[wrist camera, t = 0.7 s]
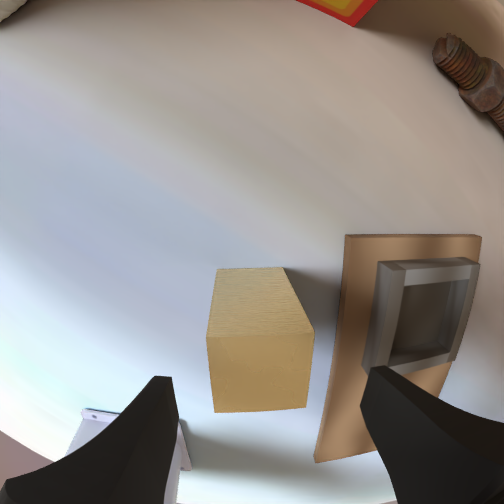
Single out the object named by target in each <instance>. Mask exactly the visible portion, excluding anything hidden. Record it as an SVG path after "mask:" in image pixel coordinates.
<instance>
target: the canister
mask: <svg viewBox="0 0 504 504" xmlns="http://www.w3.org/2000/svg"><path fill="white" fill-rule="evenodd" d="M26 1H27V0H0V22H1V21H2V20H3V19H4V18H7V17H9V16H10V15H11V13H13V12H15V11H17V9H18V8H19V7H20V6H22V5H24V4H25V3H26Z"/></svg>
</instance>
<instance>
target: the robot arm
mask: <svg viewBox="0 0 504 504" xmlns="http://www.w3.org/2000/svg"><path fill="white" fill-rule="evenodd" d="M360 409H361V412H362V416H363V419H364V422H365V425H366V428H367V430H368V432H369V434H370V436H371V438H372V440H373V442H374V444H375V446H376V448H377V450H378V452H379V454H380V456H381V458H382V461H383V463H384V465H385V467H386V469H387V471H388V474H389V476H390V479H391V482H392V485H393V488H394V492H395V495H396V499H397V502H398V504H504V423H502V422H497V421H493V420H489V419H486V418H482V417H479V416H476V415H473V414H471V413H468V412H466V411H463V410H461V409H459V408H456V407H454V406H452V405H450V404H448V403H446V402H444V401H442V400H441V399H439V398H437V397H435V396H433V395H432V394H430V393H428V392H427V391H425V390H423V389H422V388H420V387H419V386H417V385H415V384H414V383H412V382H411V381H409V380H408V379H406V378H405V377H403V376H402V375H400V374H398V373H397V372H395V371H394V370H392V369H391V368H389V367H387V366H385V365H382V366H376V367H371V368H370V372H369V376H368V379H367V383H366V386H365V390H364V393H363V396H362V400H361V403H360ZM81 415H82V417H83V420H82V422H81V424H80V426H79V428H78V430H77V432H76V434H75V436H74V438H73V440H72V442H71V444H70V446H69V448H68V450H67V452H66V455H65V457H64V458H62V459H60V460H58V461H56V462H54V463H52V464H50V465H48V466H46V467H43V468H41V469H38V470H36V471H34V472H31V473H27V474H24V475H21V476H18V477H14V478H10V479H7V480H6V481H5V483H4V485H3V487H2V489H1V491H0V504H176V500H177V491H178V483H179V475H180V470H181V471H190V470H192V465H191V461H190V458H189V454H188V451H187V447H186V444H185V440H184V437H183V433H182V429H181V425H180V423H179V422H178V421H179V414H178V409H177V404H176V399H175V394H174V388H173V383H172V377H166V376H154V377H153V378H152V379H151V380H150V381H149V382H148V384H147V385H146V386H145V387H144V388H143V390H142V391H141V392H140V393H139V394H138V395H137V396H136V398H135V399H134V400H133V401H132V402H131V403H130V404H129V405H128V406H127V407H126V408H125V409H124V410H123V412H122V413H121V414H120V415H119V414H112V413H105V412H99V411H94V410H88V409H82V411H81Z"/></svg>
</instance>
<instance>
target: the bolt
mask: <svg viewBox="0 0 504 504" xmlns="http://www.w3.org/2000/svg"><path fill="white" fill-rule="evenodd" d="M432 54H433V61H434V62H435V63H436V64H437V66H439V67H440V68H441V69H443V71H445V72H446V73H447V74H449V75H450V77H452V78H453V79H454V80H455V81H456V82H457V83H459V86H458V91H459V95H460V96H461V97H462V98H463V99H464V100H465V101H466V102H467V103H468V104H469V105H470V106H471V107H473V108H474V109H476V110H477V111H479V112H487V113H488V114H489V115H490V116H491V118H493V120H494V121H495V122H496V123H497V124H498V126H499V127H500V128H501V129H502V130H503V131H504V69H503V68H502V67H501V66H500V65H499V63H497V62H496V61H494V60H492V59H489V58H486V57H482V58H480V57H479V56H478V55H477V54H476V53H475V52H474V51H473V50H472V49H471V48H470V47H469V46H468V45H467V44H465V42H464V41H462V39H460V38H457V37H456V36H455V35H452V34H451V33H447V38H442V37H441V38H439V39H438V40H437V41H436V44H435V46H434V49H433V53H432Z"/></svg>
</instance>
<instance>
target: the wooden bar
mask: <svg viewBox="0 0 504 504" xmlns="http://www.w3.org/2000/svg"><path fill="white" fill-rule="evenodd" d="M314 336H315V331H314V329H313V327H312V325H311V323H310V321H309V319H308V317H307V315H306V313H305V311H304V309H303V307H302V305H301V303H300V301H299V299H298V298H297V296H296V294H295V292H294V290H293V288H292V286H291V284H290V282H289V280H288V278H287V276H286V274H285V272H284V270H283V268H282V267H275V268H241V269H217V272H216V278H215V284H214V290H213V296H212V302H211V308H210V315H209V321H208V328H207V334H206V342H207V352H208V361H209V371H210V379H211V388H212V396H213V404H214V412H215V413H232V412H258V411H274V410H286V409H296V408H305V407H306V404H307V396H308V389H309V381H310V373H311V365H312V356H313V346H314Z"/></svg>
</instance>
